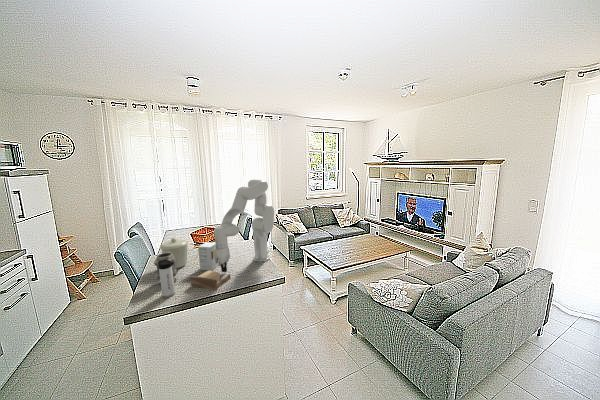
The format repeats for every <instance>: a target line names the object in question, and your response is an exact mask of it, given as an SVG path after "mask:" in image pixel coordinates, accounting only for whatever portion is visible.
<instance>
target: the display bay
mask: <svg viewBox="0 0 600 400" xmlns="http://www.w3.org/2000/svg"><path fill="white" fill-rule="evenodd" d="M230 279H231V274H230V273H228V274H227V275H226V276H225V277H223V278H222V279H220V280H219V281H216V280H214V279H208V278H203V277H198V276H197V275H196V276H195V275H191V276H189V280H190V281H189V282H190V287H195V288H199V289H203V290H204V289H205V290H209V291H214V292H216V291H218V288H220V287H221V286H222V285H224V284H225V283H226V282H228V281H229V280H230Z"/></svg>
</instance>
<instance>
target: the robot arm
mask: <svg viewBox="0 0 600 400" xmlns="http://www.w3.org/2000/svg"><path fill="white" fill-rule="evenodd" d="M268 188H269V184H268V181H266V180H264V179H250V180H249V181H248V182H247V186H241V187H239V188H238V189H237V191H236V194H235V197H234V199H233V202H232V205H231V207H230V208H229V209H228V211H227V212H226V213H225V214H224V216H223V219H222V221H221V223H220V225H219V226H215V227H214V229H213V233H214V243H215V244H216V249H215V263H218V264H217V267H220V270H221V273H227V272H228V262H229V261H230V259H231V253H230V248H229V242H228V237H235V236H237V235H238V234H239V233H240V227H239V226H238V225H236V224H233V221H234V219H235V218H236V217H237V216H238V215H240V214H242V213H244V211H245V209H246V205H247V203H248V201H252V200H254V207H253V208H254V211H253V212H254V214H255V215H256V216H258V217H256V218H254V219H253V220H252V221H251V229H252V232H253V243H254V244H253V245H254V246H253V248H254V256H252V260H253V261H255V262H257V263H259V262H260V263H261V262H262V263H263V262H267V261H269V260H270V257H271V256H270V255H269V253H270V249H268V237H267V236H268V235H267V234H268V233H271V232H272V231H273V228H274V223H275V220H274V219H275V209H274V207H273V206H272V205H270V204H268V203H267V201H268V200H267V199H268V198H267V194H266V192H267V191H268Z"/></svg>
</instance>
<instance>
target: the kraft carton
mask: <svg viewBox="0 0 600 400" xmlns="http://www.w3.org/2000/svg"><path fill="white" fill-rule="evenodd" d="M197 277H203V278H208V279H214V280H216V281H217V282H219V281H220V280H221V273H220V272H218V271H214V270H212V271H211V270H206V271H205V272H203V273H201V274H200V275H198V276H197Z"/></svg>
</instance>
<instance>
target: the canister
mask: <svg viewBox="0 0 600 400" xmlns="http://www.w3.org/2000/svg"><path fill="white" fill-rule="evenodd" d="M188 244H189V241H188V240H186V239H183V238H176V237H171V238H170V240H168V241H164V242H163V243H162V244H160V246H159V248H160V250H161V254H162V253H168V252H170V253H172V255H173V256H175V258H176V261H175V262H174V265H175V268H176V269H177V270H178V269H180V268H183V267H184V266H186V265H187V262H188Z"/></svg>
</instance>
